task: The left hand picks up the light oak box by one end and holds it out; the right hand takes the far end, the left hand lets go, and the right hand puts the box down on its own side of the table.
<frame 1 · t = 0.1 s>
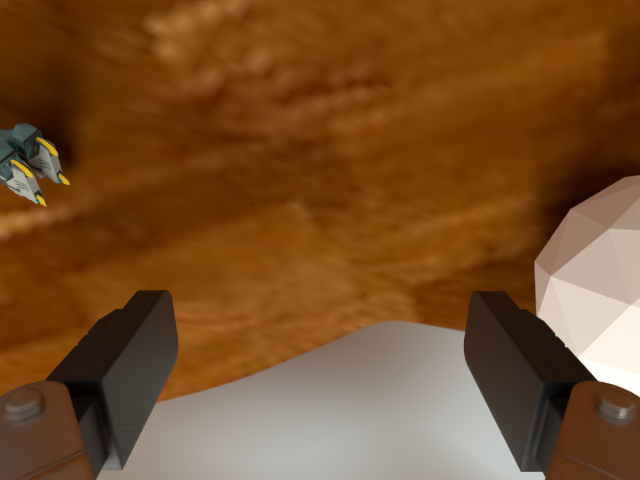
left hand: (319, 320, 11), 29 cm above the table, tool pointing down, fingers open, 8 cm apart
sphere: (598, 246, 42), on the table
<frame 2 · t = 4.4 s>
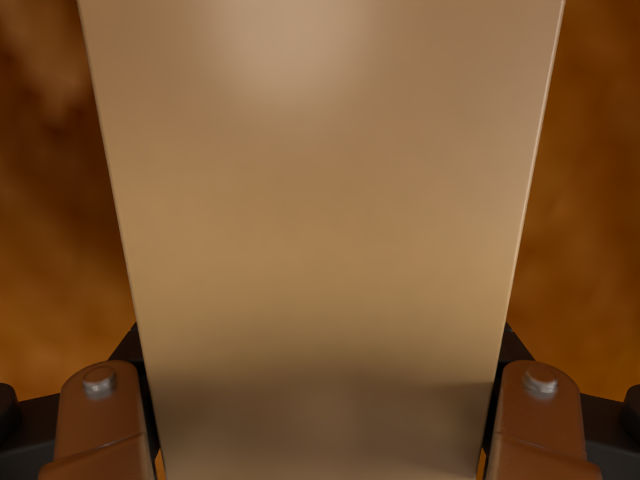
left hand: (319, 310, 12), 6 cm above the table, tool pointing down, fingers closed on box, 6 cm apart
box: (320, 47, 15), on the table, touching left hand
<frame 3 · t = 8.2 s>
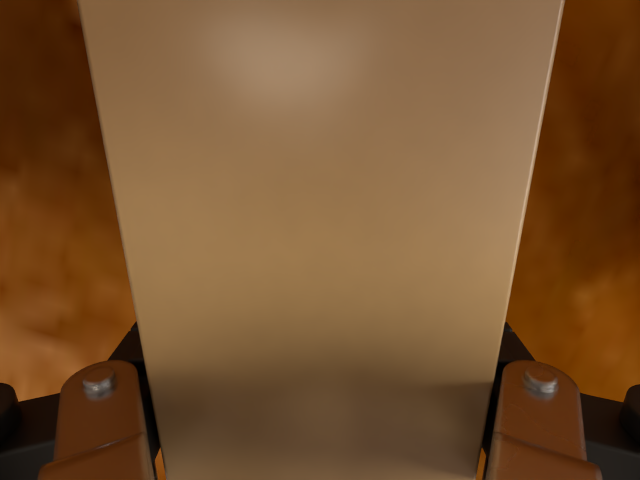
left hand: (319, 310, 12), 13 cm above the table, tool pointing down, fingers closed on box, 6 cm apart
box: (320, 46, 15), point 6 cm above the table, touching left hand, right hand
when the left hand's fingers open (13 cm above the table, at t = 9.5 s): box moves 1 cm, held by the right hand.
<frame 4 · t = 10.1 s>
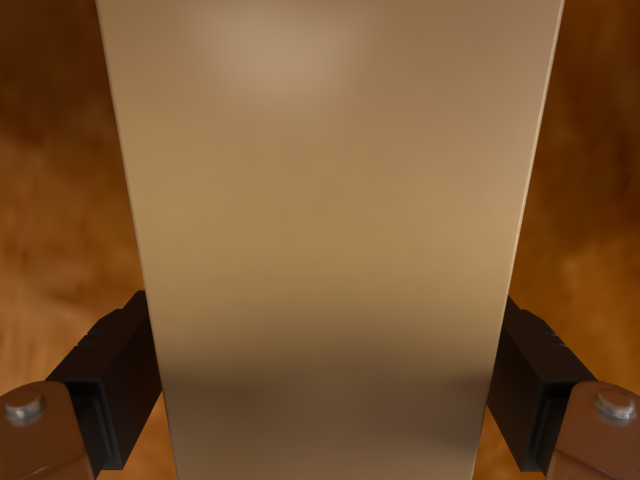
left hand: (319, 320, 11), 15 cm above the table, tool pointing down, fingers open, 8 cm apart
box: (322, 15, 15), point 8 cm above the table, touching right hand
when the right hand's fingers open (8 cm above the table, at t = 13.1 s): box drops 2 cm, on the table.
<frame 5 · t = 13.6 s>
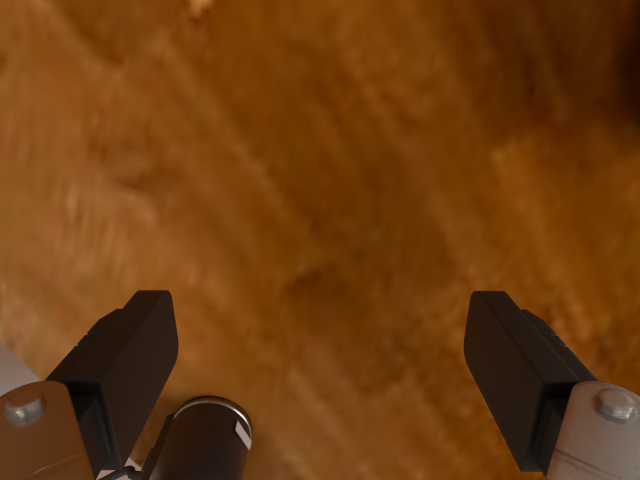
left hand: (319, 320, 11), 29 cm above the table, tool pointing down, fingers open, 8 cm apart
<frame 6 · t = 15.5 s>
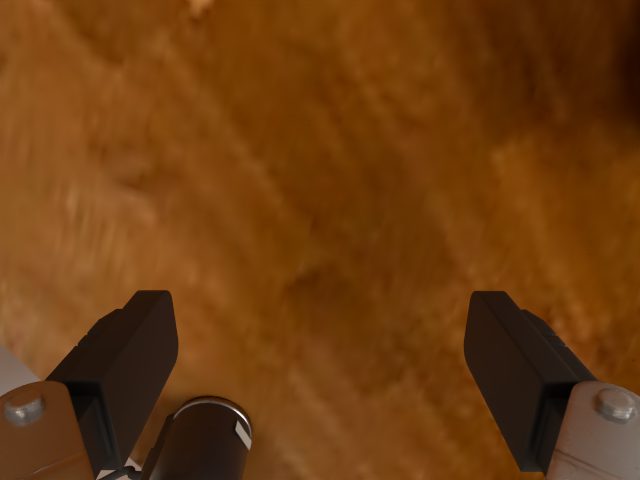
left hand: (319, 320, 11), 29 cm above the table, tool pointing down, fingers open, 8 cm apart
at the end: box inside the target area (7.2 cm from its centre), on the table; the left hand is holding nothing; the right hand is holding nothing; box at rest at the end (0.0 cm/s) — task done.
